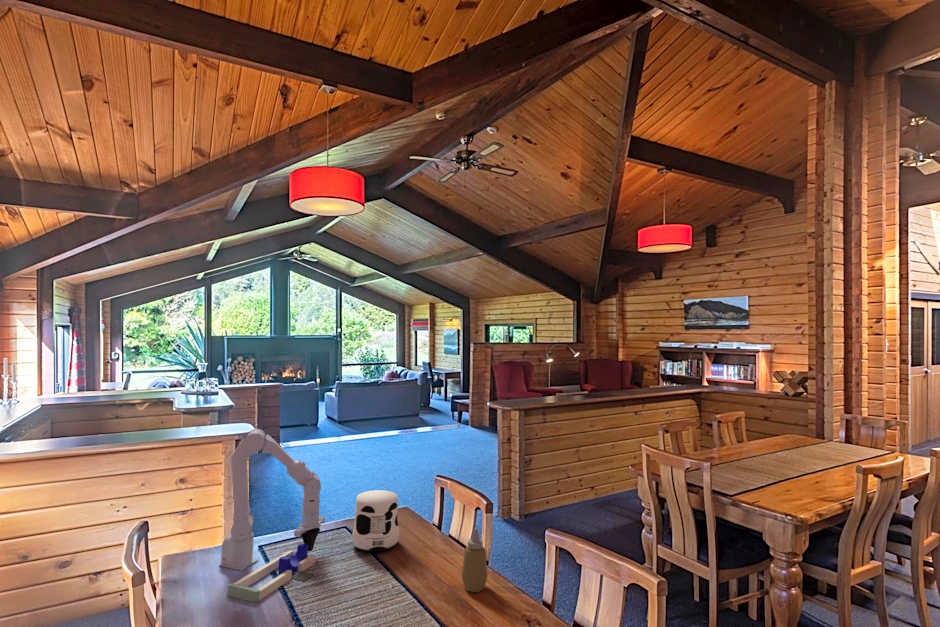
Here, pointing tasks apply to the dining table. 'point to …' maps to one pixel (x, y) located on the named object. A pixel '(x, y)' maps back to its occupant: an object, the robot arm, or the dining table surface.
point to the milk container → (375, 521)
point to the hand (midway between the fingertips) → (309, 550)
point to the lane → (254, 595)
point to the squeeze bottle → (474, 564)
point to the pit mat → (303, 576)
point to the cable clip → (293, 559)
